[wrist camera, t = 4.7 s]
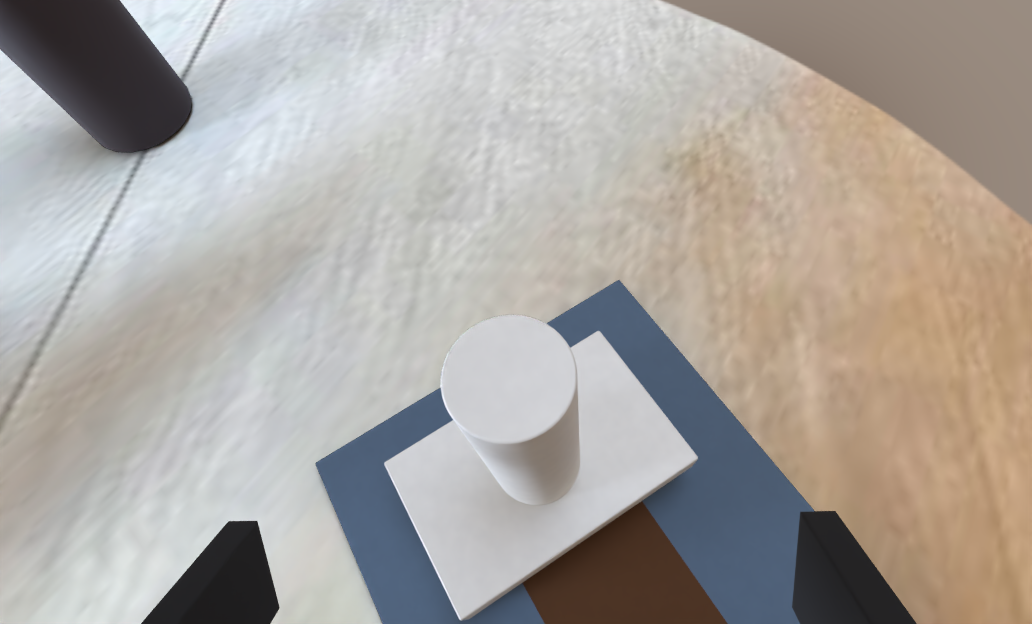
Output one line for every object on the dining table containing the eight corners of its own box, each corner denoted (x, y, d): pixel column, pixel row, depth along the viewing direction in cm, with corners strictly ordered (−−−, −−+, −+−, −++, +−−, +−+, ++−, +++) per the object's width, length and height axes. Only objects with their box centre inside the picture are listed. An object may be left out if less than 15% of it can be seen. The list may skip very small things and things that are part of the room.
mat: (318, 465, 26) (314, 462, 26) (618, 284, 29) (619, 279, 28) (633, 1205, 16) (634, 1222, 15) (1060, 810, 18) (1072, 815, 18)
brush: (401, 475, 25) (266, 382, 14) (597, 352, 27) (606, 188, 16) (472, 619, 22) (370, 635, 12) (688, 471, 24) (772, 366, 13)
